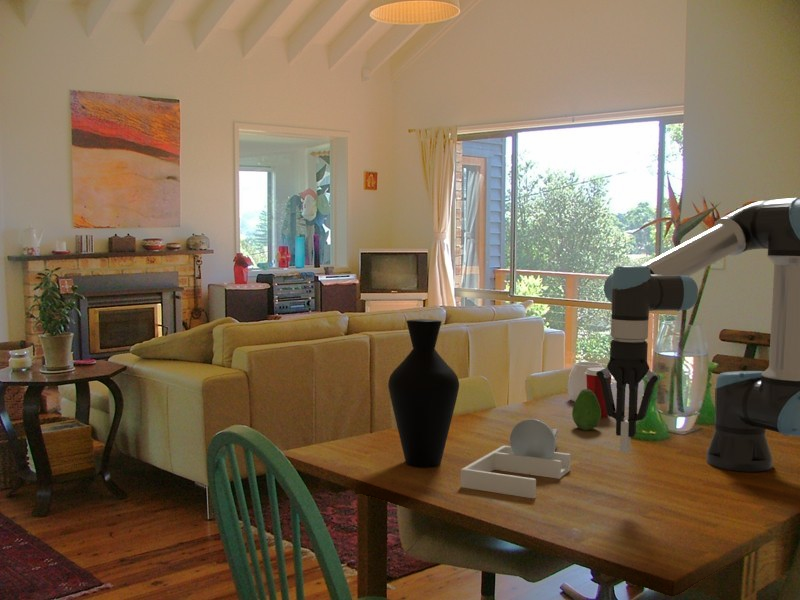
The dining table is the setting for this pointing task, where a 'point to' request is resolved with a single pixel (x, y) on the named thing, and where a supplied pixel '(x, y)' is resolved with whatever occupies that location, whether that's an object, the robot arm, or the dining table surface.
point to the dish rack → (506, 460)
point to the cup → (579, 378)
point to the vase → (423, 397)
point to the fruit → (586, 410)
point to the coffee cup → (597, 388)
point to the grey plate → (533, 439)
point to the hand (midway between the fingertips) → (625, 451)
